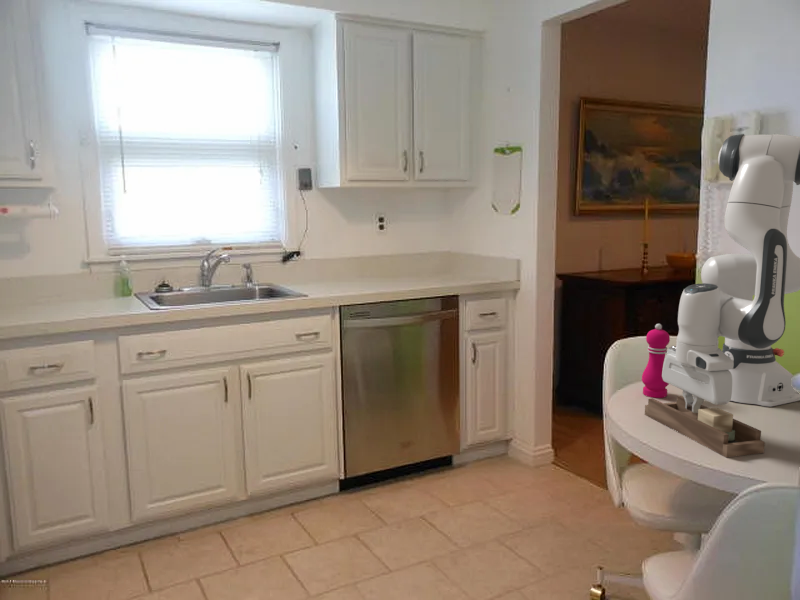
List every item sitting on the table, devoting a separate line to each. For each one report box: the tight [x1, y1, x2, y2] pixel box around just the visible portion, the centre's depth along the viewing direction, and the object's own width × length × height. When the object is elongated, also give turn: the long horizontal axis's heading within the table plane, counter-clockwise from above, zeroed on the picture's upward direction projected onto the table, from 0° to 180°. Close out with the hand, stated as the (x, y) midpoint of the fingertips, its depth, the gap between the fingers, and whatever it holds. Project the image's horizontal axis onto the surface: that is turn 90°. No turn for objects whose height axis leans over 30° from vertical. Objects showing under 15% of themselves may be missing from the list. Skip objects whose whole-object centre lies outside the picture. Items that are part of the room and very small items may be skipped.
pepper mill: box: [641, 323, 671, 399], centre depth 179 cm, size 7×7×20 cm
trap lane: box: [644, 395, 766, 458], centre depth 151 cm, size 9×28×4 cm, turn 14°
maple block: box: [698, 407, 734, 433], centre depth 146 cm, size 5×5×4 cm
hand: (692, 411), depth 153 cm, fingers closed
